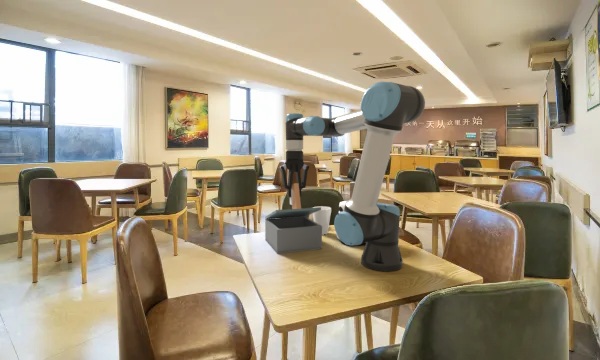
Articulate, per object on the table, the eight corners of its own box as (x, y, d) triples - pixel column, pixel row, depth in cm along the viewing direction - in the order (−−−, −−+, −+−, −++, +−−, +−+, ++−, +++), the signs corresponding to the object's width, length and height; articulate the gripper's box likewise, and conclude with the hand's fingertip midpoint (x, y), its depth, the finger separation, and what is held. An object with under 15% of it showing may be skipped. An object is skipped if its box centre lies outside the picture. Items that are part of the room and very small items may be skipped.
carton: (321, 248, 139) (322, 226, 138) (277, 253, 132) (277, 229, 131) (305, 236, 158) (305, 216, 157) (265, 240, 151) (265, 219, 150)
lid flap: (321, 209, 138) (317, 182, 141) (276, 212, 132) (273, 184, 134) (305, 216, 157) (302, 192, 159) (265, 219, 150) (263, 194, 153)
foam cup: (309, 234, 162) (309, 208, 161) (316, 230, 170) (317, 205, 169) (326, 236, 158) (326, 210, 156) (333, 232, 166) (334, 207, 164)
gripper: (307, 150, 145) (307, 202, 147) (275, 150, 139) (275, 203, 142) (314, 150, 138) (313, 204, 140) (280, 150, 132) (280, 206, 135)
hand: (294, 204), depth 141 cm, fingers closed on lid flap, 2 cm apart
